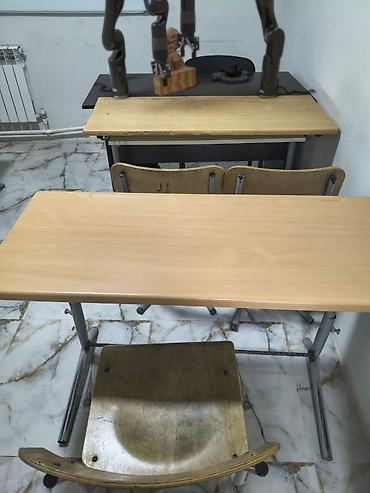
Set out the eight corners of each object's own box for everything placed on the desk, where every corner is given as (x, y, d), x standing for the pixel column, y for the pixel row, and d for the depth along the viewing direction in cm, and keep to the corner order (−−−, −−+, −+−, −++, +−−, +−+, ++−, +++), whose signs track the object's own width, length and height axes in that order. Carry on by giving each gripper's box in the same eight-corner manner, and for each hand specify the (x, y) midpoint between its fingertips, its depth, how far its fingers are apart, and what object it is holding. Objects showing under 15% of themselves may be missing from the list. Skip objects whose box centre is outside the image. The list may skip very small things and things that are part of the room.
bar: (160, 95, 180) (159, 77, 174) (154, 93, 183) (153, 75, 177) (195, 85, 192) (195, 68, 186) (189, 83, 194) (189, 66, 189)
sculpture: (197, 88, 213) (196, 30, 194) (156, 89, 214) (152, 31, 194) (196, 75, 234) (196, 22, 215) (159, 76, 235) (156, 23, 215)
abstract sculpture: (216, 68, 212) (209, 60, 227) (216, 84, 218) (208, 75, 233) (257, 65, 215) (247, 57, 230) (255, 81, 221) (245, 73, 236)
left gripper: (175, 48, 167) (177, 86, 178) (156, 44, 176) (159, 81, 187) (163, 51, 163) (165, 90, 174) (144, 46, 172) (147, 84, 183)
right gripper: (203, 22, 170) (203, 59, 180) (184, 18, 178) (184, 54, 189) (191, 23, 166) (191, 62, 177) (172, 20, 175) (173, 57, 185)
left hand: (162, 85), depth 180 cm, fingers closed on bar, 5 cm apart
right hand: (188, 58), depth 183 cm, fingers open, 8 cm apart
